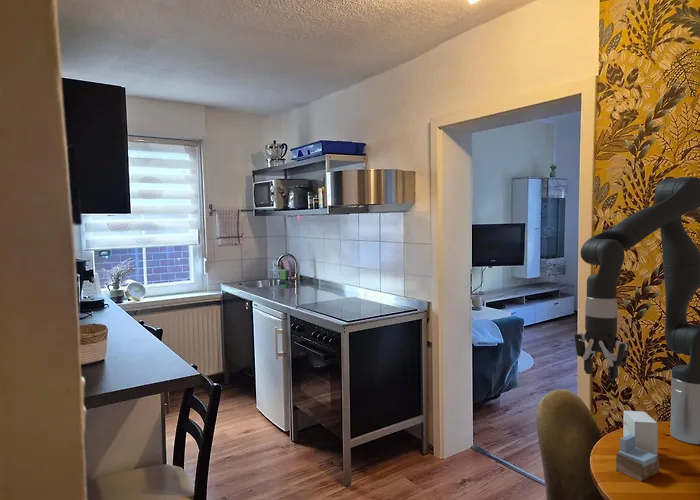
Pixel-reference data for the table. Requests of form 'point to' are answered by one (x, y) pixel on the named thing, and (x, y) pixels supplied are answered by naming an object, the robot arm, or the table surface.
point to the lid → (635, 451)
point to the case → (636, 467)
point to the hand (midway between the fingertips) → (600, 376)
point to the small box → (641, 430)
